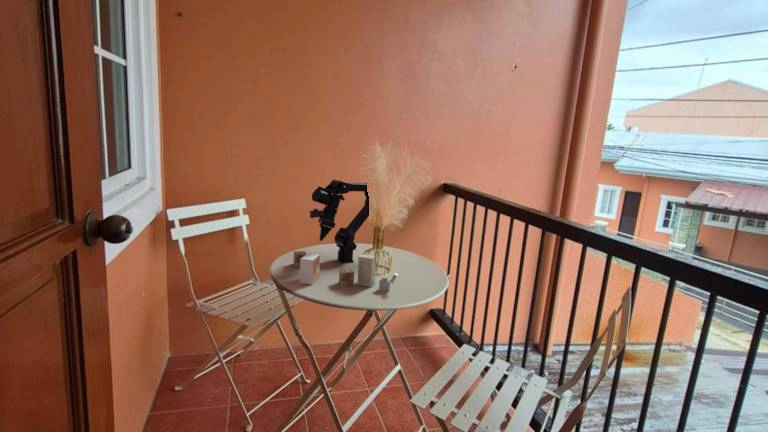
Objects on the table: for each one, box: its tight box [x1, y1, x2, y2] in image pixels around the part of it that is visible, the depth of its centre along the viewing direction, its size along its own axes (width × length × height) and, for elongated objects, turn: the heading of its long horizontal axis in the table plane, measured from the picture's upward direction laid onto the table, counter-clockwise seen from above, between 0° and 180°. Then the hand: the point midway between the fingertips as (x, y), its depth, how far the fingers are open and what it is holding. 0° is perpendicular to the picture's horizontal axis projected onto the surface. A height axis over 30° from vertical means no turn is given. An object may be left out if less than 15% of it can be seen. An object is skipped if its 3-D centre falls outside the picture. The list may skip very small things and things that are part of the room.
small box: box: [299, 252, 321, 285], centre depth 161 cm, size 8×6×10 cm
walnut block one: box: [338, 267, 355, 288], centre depth 160 cm, size 5×5×6 cm
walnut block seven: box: [293, 250, 307, 269], centre depth 177 cm, size 5×5×6 cm
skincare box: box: [357, 253, 376, 288], centre depth 161 cm, size 6×4×12 cm
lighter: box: [378, 272, 399, 293], centre depth 157 cm, size 7×2×8 cm, turn 75°
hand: (320, 240), depth 175 cm, fingers closed
